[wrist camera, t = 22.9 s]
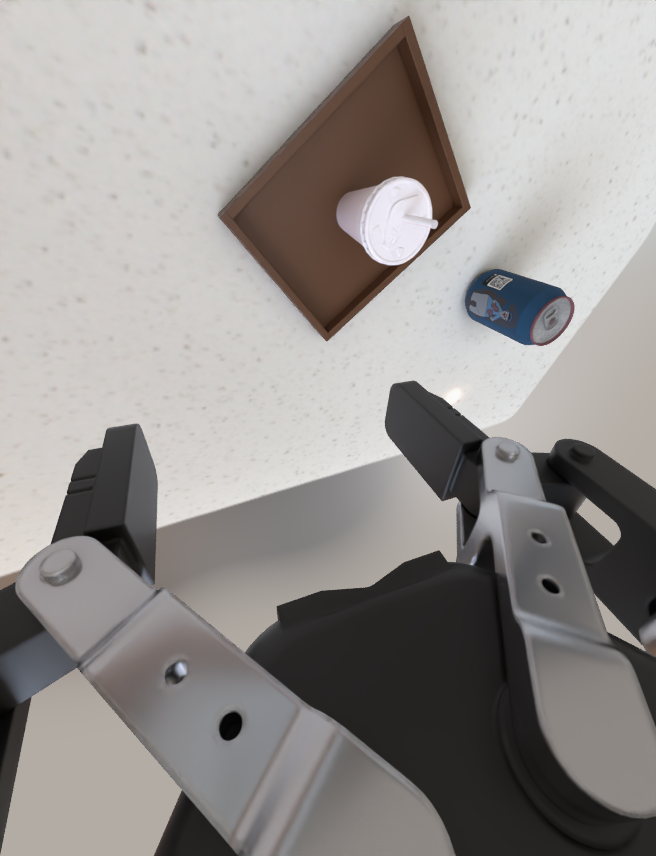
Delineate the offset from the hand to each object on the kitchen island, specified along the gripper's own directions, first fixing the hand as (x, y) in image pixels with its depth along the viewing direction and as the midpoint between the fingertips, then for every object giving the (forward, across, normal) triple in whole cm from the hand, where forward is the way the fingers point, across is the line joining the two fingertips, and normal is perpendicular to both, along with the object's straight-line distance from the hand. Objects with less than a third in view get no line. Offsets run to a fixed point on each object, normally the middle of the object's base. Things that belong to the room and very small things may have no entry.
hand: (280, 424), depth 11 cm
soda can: (+30, -36, +6) cm, 48 cm away
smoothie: (+29, -15, -4) cm, 33 cm away
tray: (+30, -15, -4) cm, 34 cm away
